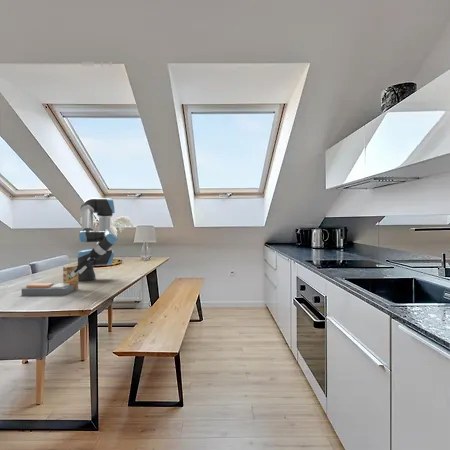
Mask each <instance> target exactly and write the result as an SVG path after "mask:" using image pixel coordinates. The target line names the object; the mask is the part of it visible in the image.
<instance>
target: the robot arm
mask: <svg viewBox="0 0 450 450" xmlns="http://www.w3.org/2000/svg"><path fill="white" fill-rule="evenodd" d="M79 210H80V214H81V230H80V231H79V232H78V241H79V242H80V243H97V244H96V245H95V246H94V247H93V248H92V249H83V250H79V251H78V252H77V265H75V266H76V267H77V268H76V269H75V270H74V271H73V272H72V273H71V274H70V275H71V276H72V277H74V276H75V275H76V274H77V273H78V282H79V281H80V282H85V281H86V282H87V281H93V280H96V279H97V276H96V273H95V270H94V267H95V266H96V267H98V266H111V265H113V261H114V253H115V252H114V250H113V248H111V247H112V246H114V245H115V244H116V243H117V242H118V236H116V235H115V234H114V232H112V231H111V218H112V217H113V214H115V211H116V210H115V203H114V200H113V198H109V197H105V198H104V197H90V198H88V199H86V200H84V201H83V202H82V203H81V205H80V209H79ZM93 214H96V216H97V217H98V230H94V217H93V216H94V215H93Z"/></svg>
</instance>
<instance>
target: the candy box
mask: <svg viewBox="0 0 450 450" xmlns="http://www.w3.org/2000/svg"><path fill="white" fill-rule="evenodd" d="M76 266H77V265H70V266H63V267H62V269H63V271H62V274H63V276H62V278H63V279H62V283H69V285H73V290H77V289H79V281H78V273H77V274H76V275H75V276H74V277H72V276H71V275H70V274H71V273H72V272H73V271H74V270H75V269H76V268H77V267H76Z"/></svg>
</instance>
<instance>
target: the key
mask: <svg viewBox="0 0 450 450" xmlns="http://www.w3.org/2000/svg"><path fill="white" fill-rule="evenodd" d="M53 285H55V283H53V282H45V283H44V282H32V283H30V284H27V285H26V287H27V288H50V287H51V286H53Z"/></svg>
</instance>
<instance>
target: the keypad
mask: <svg viewBox="0 0 450 450" xmlns="http://www.w3.org/2000/svg"><path fill="white" fill-rule="evenodd" d="M72 292H74V289H73V285H69V283H63V282H61V283H60V282H59V283H56V284H54V285H53V286H51V287H50V288H27V286H26V287H22V288H21V296H66V295H68V294H70V293H72Z"/></svg>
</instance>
